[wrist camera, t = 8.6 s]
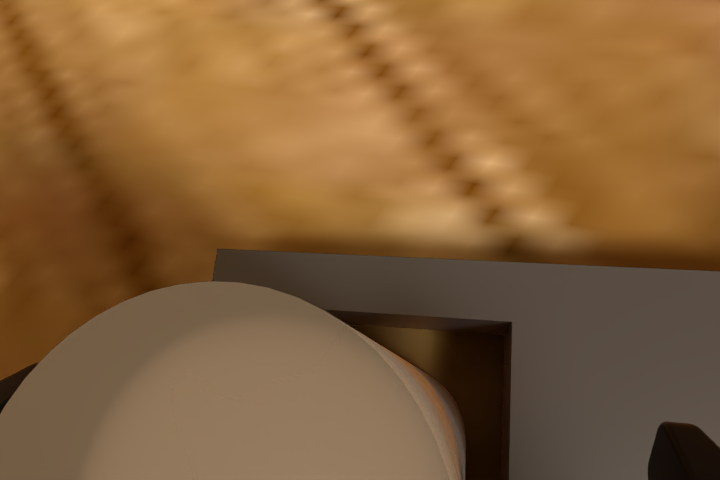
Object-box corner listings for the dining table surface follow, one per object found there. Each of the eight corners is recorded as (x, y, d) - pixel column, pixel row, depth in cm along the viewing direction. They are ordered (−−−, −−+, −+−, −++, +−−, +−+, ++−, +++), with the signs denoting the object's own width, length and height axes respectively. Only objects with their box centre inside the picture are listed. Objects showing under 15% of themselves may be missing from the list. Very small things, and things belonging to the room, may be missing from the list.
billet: (424, 541, 16) (264, 1073, 3) (304, 460, 17) (-144, 634, 4) (490, 410, 16) (566, 450, 4) (371, 341, 17) (137, 202, 5)
